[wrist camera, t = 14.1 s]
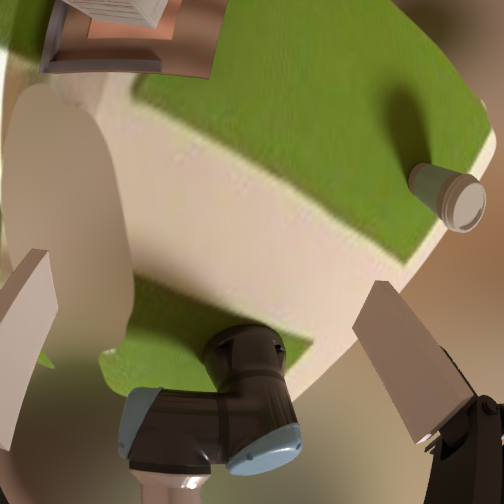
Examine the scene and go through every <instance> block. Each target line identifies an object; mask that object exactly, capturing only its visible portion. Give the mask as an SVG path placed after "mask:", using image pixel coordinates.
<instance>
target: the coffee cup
mask: <svg viewBox="0 0 504 504" xmlns="http://www.w3.org/2000/svg"><path fill="white" fill-rule="evenodd" d="M408 186H409V189H410V191H411V193H412V194H413V195H415V196H416V197H417V198H418V199H419V200H420V201H421V202H422V203H424V204H425V205H426V206H427V207H428V208H429V209H430V210H431V211H432V212H434V213H435V214H436V215H437V216H438V217H439V218H440V219H441V220H442V221H443V223H444V225H445V226H446V227H447V228H448V229H450V230H452V231H455V232H461V233H465V232H468V231H470V230H472V229H473V228H474V227H475V226H476V225H477V224H478V222H479V221H480V219H481V217H482V215H483V213H484V210H485V206H486V193H485V190H484V187H483V186H482V185H481V184H480V182H479V181H478V180H477V179H476V178H475V177H474V176H472V175H470V174H461V173H458V172H455V171H452V170H449V169H445V168H442V167H438V166H435V165H431V164H428V163H419V164H417V165H416V166H415V167H414V168H413V169H412V170H411V172H410V174H409V178H408Z"/></svg>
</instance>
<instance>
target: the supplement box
mask: <svg viewBox="0 0 504 504" xmlns="http://www.w3.org/2000/svg"><path fill="white" fill-rule="evenodd" d="M62 1H64V2H66V3H68V4H69V5H71V6H73V7H75V8H77V9H78V10H80V11H82V12H83V13H85V14H87V15H88V16H90V17H92V18H93V19H95V20H96V21H98V22H109V23H119V24H127V25H134V26H140V27H147V28H153V29H156V27H157V25H158V23H159V20H160V18H161V16H162V14H163V11H164V9H165V7H166V5H167V2H168V0H62Z"/></svg>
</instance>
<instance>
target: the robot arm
mask: <svg viewBox="0 0 504 504" xmlns="http://www.w3.org/2000/svg"><path fill="white" fill-rule="evenodd" d="M58 309H59V307H58V303H57V298H56V293H55V288H54V283H53V277H52V271H51V265H50V259H49V252H48V251H47V250H39V249H31V250H30V252H29V253H28V254H27V256H26V257H25V258H24V259H23V260H22V262H21V263H20V264H19V266H18V267H17V268H16V270H15V271H14V272H13V274H12V275H11V276H10V278H9V279H8V280H7V282H6V283H5V285H4V286H3V287H2V289H1V290H0V448H2V449H5V450H7V451H9V450H10V445H11V441H12V437H13V433H14V429H15V425H16V422H17V418H18V415H19V411H20V408H21V405H22V401H23V398H24V395H25V392H26V389H27V386H28V383H29V380H30V377H31V375H32V372H33V369H34V366H35V364H36V361H37V359H38V356H39V353H40V351H41V348H42V346H43V344H44V341H45V339H46V336H47V334H48V332H49V329H50V327H51V325H52V323H53V320H54V318H55V316H56V314H57V312H58ZM352 329H353V331H354V332H355V334H356V336H357V337H358V339H359V341H360V343H361V344H362V346H363V348H364V350H365V352H366V353H367V355H368V357H369V359H370V360H371V362H372V364H373V366H374V368H375V369H376V371H377V373H378V375H379V377H380V378H381V380H382V382H383V384H384V386H385V388H386V390H387V391H388V393H389V395H390V397H391V399H392V401H393V403H394V405H395V406H396V408H397V410H398V412H399V414H400V416H401V418H402V420H403V422H404V424H405V426H406V428H407V430H408V432H409V434H410V436H411V437H412V440H413V441H414V444H415V445H416V444H418V443H421V442H423V441H426V440H428V439H429V438H431V437H432V436H433V435H434V434H435V433H436V432H437V431H438V430H439V432H440V434H441V435H440V436H439V437H437V438H436V439H435V440H434V441H433V442H431V443H430V444H429V445H428V446H427V447H426V448H425V451H424V452H427V451H428V450H430V449H431V448H432V447H433V446H435V448H434V449H432V450H431V452H430V454H433V455H434V456H433V462H432V468H431V473H430V478H429V483H428V487H427V491H426V496H425V500H424V504H504V445H503V446H502V439H503V438H504V404H497V403H496V402H495V401H494V400H493V399H492V398H491V397H489V396H486V395H481V396H480V397H478V395H477V394H476V393H475V391H474V390H473V388H472V387H471V385H470V384H469V382H468V381H467V380H466V378H465V377H464V375H463V374H462V372H461V371H460V370H459V369H458V367H457V365H456V364H455V363H454V362H453V360H452V358H451V357H450V356H449V354H448V353H447V352H446V350H444V349H443V348H442V347H441V346H440V345H438V343H437V342H436V340H435V339H434V338H433V336H432V335H431V334H430V332H429V331H428V330H427V329H426V327H425V326H424V325H423V323H422V322H421V321H420V320H419V318H418V317H417V316H416V315H415V313H414V312H413V311H412V309H411V308H410V307H409V306H408V305H407V303H406V302H405V301H404V300H403V298H402V297H401V296H400V295H399V294H398V292H397V291H396V290H395V289H394V288H393V286H392V285H391V284H390V283H389V282H388V281H376V280H375V282H374V284H373V286H372V289H371V291H370V293H369V295H368V297H367V299H366V301H365V303H364V305H363V307H362V309H361V311H360V313H359V315H358V317H357V319H356V321H355V323H354V325H353V327H352ZM285 362H286V350H285V347H284V344H283V341H282V338H281V337H280V336H279V334H278V333H276V332H275V331H273V330H272V329H270V328H267V327H264V326H259V325H241V326H236V327H232V328H229V329H226V330H224V331H222V332H220V333H218V334H217V335H216V336H214V337H213V338H212V339H211V340H210V341H209V342H208V344H207V345H206V347H205V350H204V364H205V368H206V371H207V373H208V375H209V376H210V378H211V380H212V382H213V384H214V386H215V388H216V389H217V392H198V391H184V390H172V389H164V388H163V387H159V388H147V387H137V388H135V389H133V390H132V391H131V392H130V393H129V395H128V397H127V400H126V403H125V406H124V410H123V413H122V418H121V423H120V430H119V447H118V452H119V455H120V456H121V457H122V458H124V459H125V460H127V459H129V470H130V472H131V473H132V474H133V475H134V476H135V477H136V478H137V479H138V480H139V482H140V490H141V504H202V497H201V486H202V484H203V483H204V482H205V481H206V480H207V479H208V478H209V477H210V476H211V469H210V468H211V467H210V465H211V464H226V468H227V470H228V471H229V473H231V474H233V475H240V476H242V475H243V476H244V475H253V474H258V473H262V472H266V471H269V470H272V469H275V468H277V467H279V466H282V465H284V464H286V463H288V462H289V461H291V460H292V459H294V458H295V457H296V456H297V455H298V454H299V453H300V451H301V449H302V446H303V441H302V437H301V432H300V424H299V423H298V421H297V418H296V415H295V411H294V409H293V405H292V402H291V399H290V396H289V392H288V389H287V386H286V383H285V379H284V373H285ZM0 504H9V503H8V501H7V499H6V497H5V495H4V493H3V491H2V489H1V487H0Z"/></svg>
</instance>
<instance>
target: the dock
mask: <svg viewBox="0 0 504 504" xmlns="http://www.w3.org/2000/svg"><path fill="white" fill-rule="evenodd" d="M227 3H228V0H168V2H167V5H166V7H165V9H164V11H163V14H162V16H161V18H160V20H159V23H158V25H157V27H156V29H153V28H147V27H140V26H134V25H127V24H119V23H109V22H98V21H96V20H95V19H93V18H92V17H90V16H88V15H87V14H85V13H83V12H82V11H80V10H78V9H77V8H75V7H73V6H71V5H69V4H68V3H66V2H64V1H62V0H55V3H54V6H53V10H52V13H51V17H50V21H49V25H48V29H47V33H46V37H45V42H44V47H43V52H42V57H41V63H40V69H39V73H53V74H59V73H77V72H132V73H151V74H165V75H176V76H185V77H194V78H201V79H209V77H210V73H211V68H212V63H213V59H214V55H215V50H216V46H217V42H218V38H219V34H220V29H221V26H222V22H223V18H224V14H225V10H226V6H227Z"/></svg>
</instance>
